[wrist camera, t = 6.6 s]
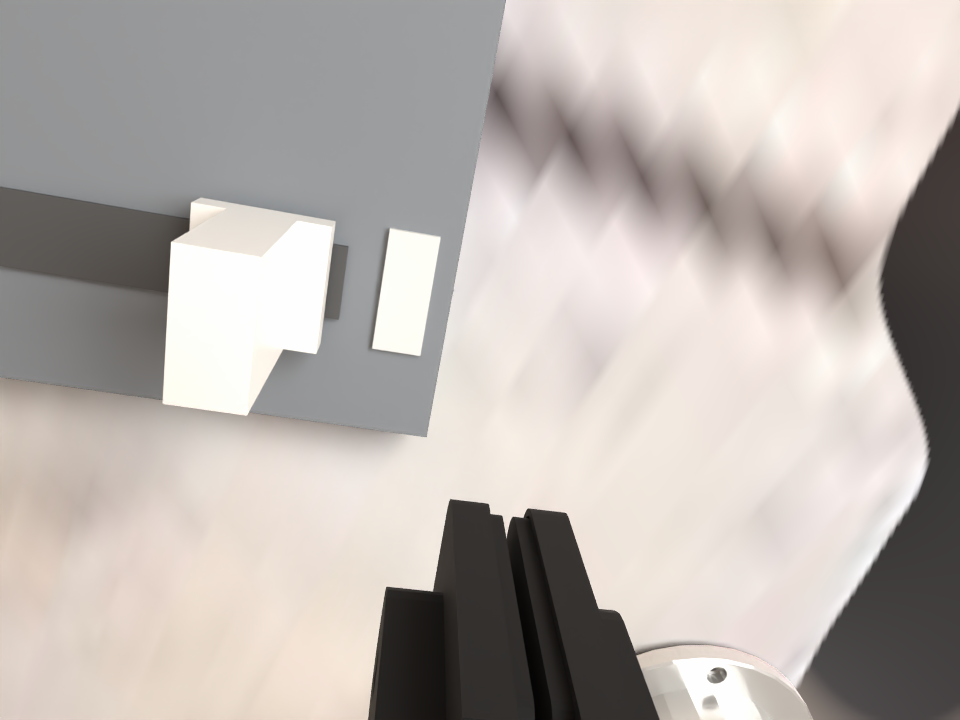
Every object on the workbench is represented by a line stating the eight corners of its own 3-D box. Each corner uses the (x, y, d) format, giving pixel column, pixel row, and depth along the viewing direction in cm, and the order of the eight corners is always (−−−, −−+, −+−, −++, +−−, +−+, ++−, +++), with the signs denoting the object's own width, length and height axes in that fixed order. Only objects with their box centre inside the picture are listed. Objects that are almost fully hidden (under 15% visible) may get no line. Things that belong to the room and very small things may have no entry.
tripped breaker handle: (320, 343, 24) (288, 421, 18) (192, 324, 24) (119, 397, 18) (335, 221, 23) (306, 264, 17) (201, 197, 22) (124, 233, 17)
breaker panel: (426, 413, 28) (426, 439, 26) (-93, 338, 26) (-138, 360, 24) (571, -392, 20) (587, -447, 18) (-156, -603, 18) (-231, -693, 16)
